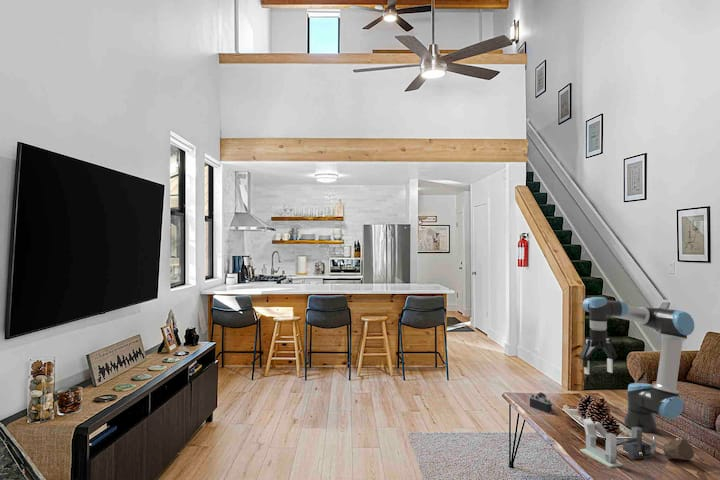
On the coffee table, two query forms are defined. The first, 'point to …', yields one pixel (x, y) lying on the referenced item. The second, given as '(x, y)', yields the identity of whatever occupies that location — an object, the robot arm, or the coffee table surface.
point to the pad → (601, 459)
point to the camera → (541, 403)
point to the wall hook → (593, 428)
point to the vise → (637, 445)
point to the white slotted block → (606, 454)
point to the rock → (678, 449)
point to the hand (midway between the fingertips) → (598, 373)
